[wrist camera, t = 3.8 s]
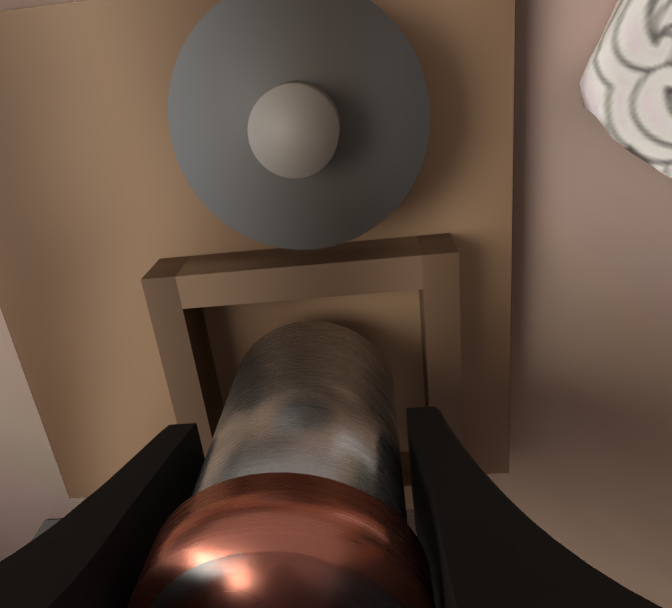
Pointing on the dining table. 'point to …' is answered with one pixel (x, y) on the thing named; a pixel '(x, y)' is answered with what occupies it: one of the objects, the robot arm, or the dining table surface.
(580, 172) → the dining table surface
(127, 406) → the board
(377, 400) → the pin
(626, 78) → the cookie jar
